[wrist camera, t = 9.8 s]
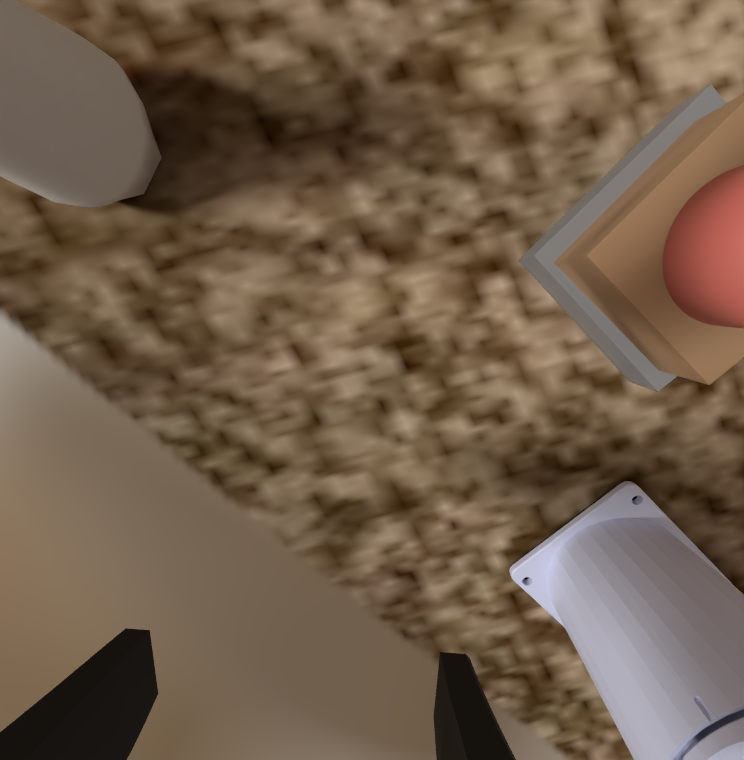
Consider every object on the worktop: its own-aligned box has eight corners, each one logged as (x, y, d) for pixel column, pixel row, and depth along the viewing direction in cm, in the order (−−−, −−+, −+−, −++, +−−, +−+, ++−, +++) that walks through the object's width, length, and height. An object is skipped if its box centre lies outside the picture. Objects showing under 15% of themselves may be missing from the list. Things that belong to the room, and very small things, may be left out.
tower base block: (770, 255, 16) (837, 248, 14) (621, 378, 18) (657, 391, 15) (659, 118, 15) (710, 84, 13) (513, 261, 17) (533, 255, 14)
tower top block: (801, 249, 14) (889, 239, 11) (658, 370, 15) (709, 384, 13) (693, 122, 13) (762, 83, 10) (554, 262, 14) (586, 255, 12)
